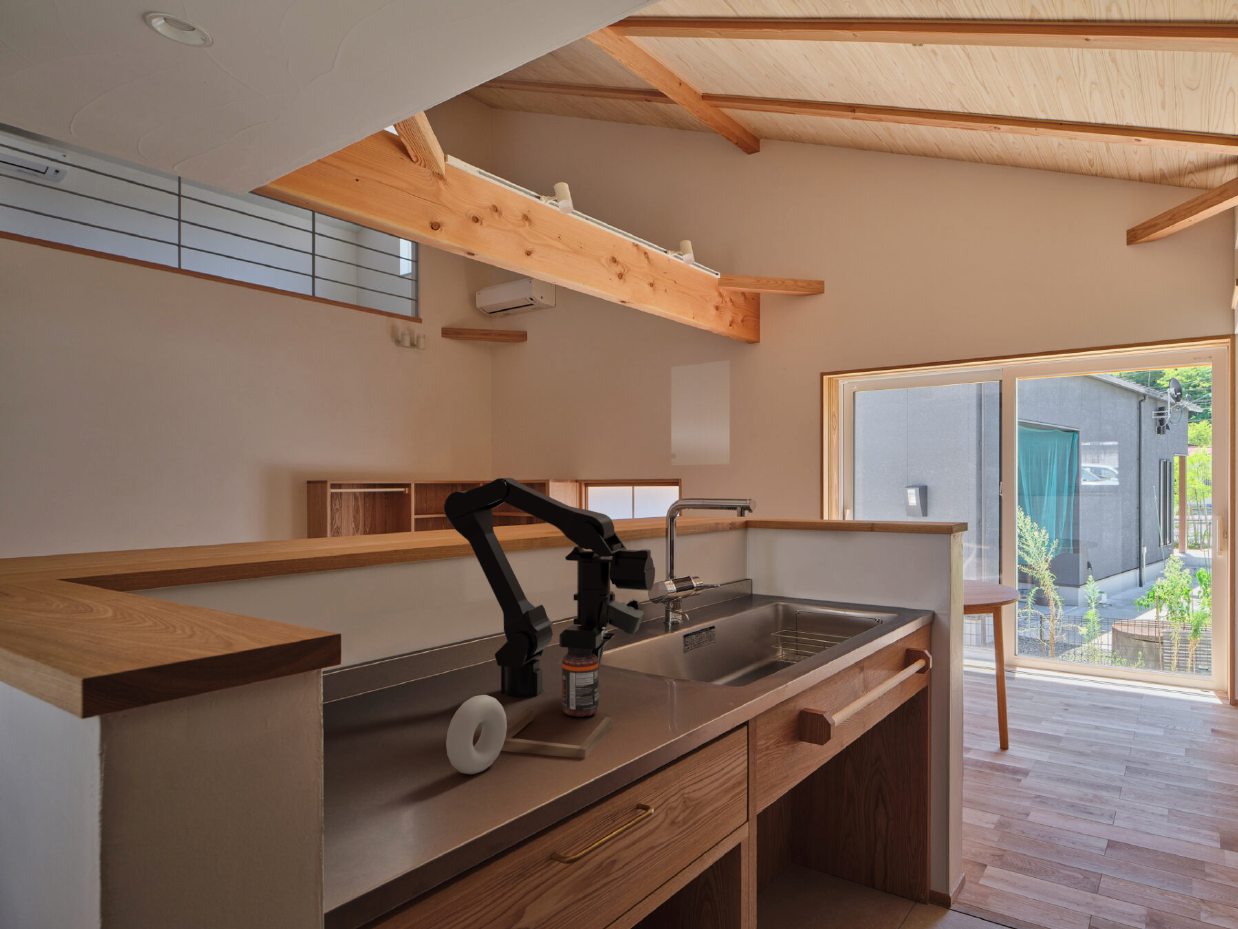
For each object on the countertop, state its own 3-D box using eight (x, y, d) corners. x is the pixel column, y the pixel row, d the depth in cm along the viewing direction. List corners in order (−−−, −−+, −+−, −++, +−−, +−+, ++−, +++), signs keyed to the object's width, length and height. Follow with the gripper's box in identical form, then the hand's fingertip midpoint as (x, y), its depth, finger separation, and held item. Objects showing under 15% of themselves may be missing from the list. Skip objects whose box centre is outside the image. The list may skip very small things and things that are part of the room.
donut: (460, 789, 92) (460, 709, 92) (440, 783, 94) (440, 704, 94) (512, 761, 101) (512, 688, 101) (493, 756, 102) (493, 684, 102)
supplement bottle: (561, 706, 124) (561, 638, 123) (597, 705, 124) (597, 637, 124) (562, 718, 118) (562, 647, 117) (599, 717, 118) (599, 646, 118)
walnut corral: (491, 749, 105) (491, 738, 105) (527, 718, 117) (527, 709, 117) (585, 760, 101) (585, 749, 101) (612, 727, 114) (612, 717, 114)
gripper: (625, 599, 116) (624, 698, 117) (651, 580, 134) (651, 666, 135) (558, 595, 119) (558, 692, 119) (592, 578, 137) (592, 662, 137)
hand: (593, 677), depth 128 cm, fingers closed
